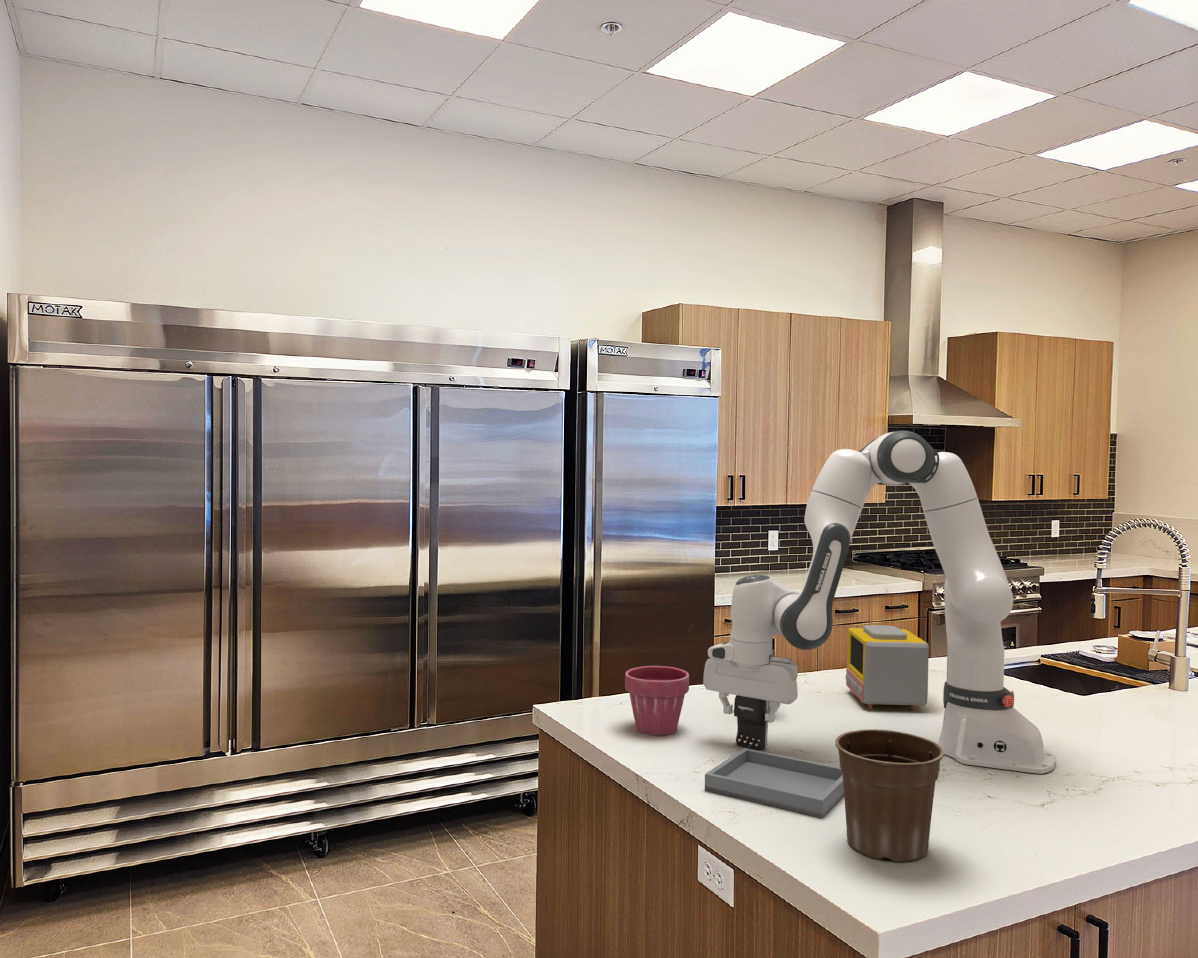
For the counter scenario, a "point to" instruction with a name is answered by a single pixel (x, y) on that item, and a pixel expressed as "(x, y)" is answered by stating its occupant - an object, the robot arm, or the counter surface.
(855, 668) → the alarm clock
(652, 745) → the counter surface
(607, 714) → the counter surface
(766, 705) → the battery charger
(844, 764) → the plant pot
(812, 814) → the tray
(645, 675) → the plant pot
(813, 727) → the counter surface
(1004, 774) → the counter surface
